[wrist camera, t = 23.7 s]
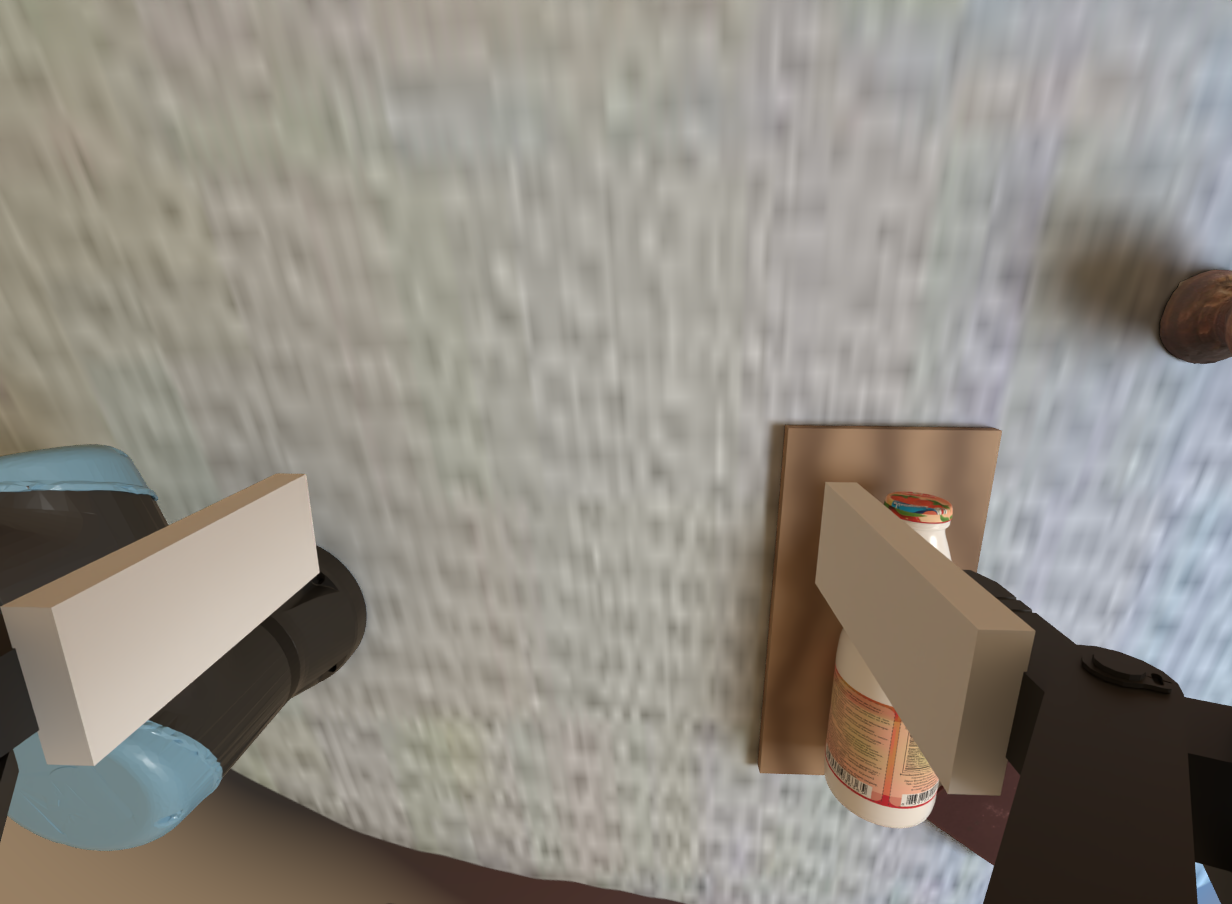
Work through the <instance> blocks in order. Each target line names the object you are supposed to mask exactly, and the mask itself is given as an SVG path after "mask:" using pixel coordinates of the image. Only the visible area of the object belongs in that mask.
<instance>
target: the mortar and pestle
mask: <svg viewBox="0 0 1232 904" xmlns="http://www.w3.org/2000/svg"><path fill="white" fill-rule="evenodd" d="M1160 337H1161V341H1162V343H1163V344H1164V346H1165V347H1166V349H1167V350H1168V351H1169V352H1170V353H1171V354H1172V355H1174V356H1176V357H1178V358H1180V359H1182V360H1184V361H1187V362H1190V363H1194V364H1195V363H1200V364H1207V363H1215V362H1217V361H1220V360H1224V359H1227V358H1229V357H1232V271H1229V270H1211V271H1206V272H1203V273H1200V274H1198V275H1196V276H1194V277H1191V278H1189V279H1187V280H1184V281H1182V282H1180V283H1179V286H1178V288H1177V289H1176V290H1175V291H1174V293H1173V294H1172V296H1171V298H1170V299H1169V301H1168V303H1167V305H1166V308H1165V310H1164V313H1163V316H1162V319H1161V321H1160Z"/></svg>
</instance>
